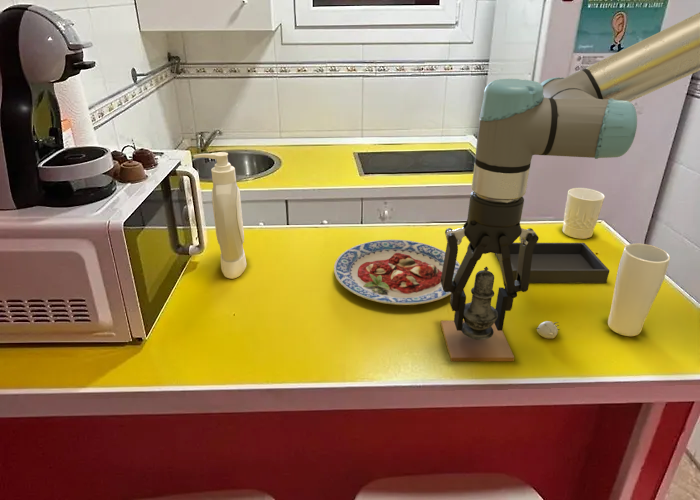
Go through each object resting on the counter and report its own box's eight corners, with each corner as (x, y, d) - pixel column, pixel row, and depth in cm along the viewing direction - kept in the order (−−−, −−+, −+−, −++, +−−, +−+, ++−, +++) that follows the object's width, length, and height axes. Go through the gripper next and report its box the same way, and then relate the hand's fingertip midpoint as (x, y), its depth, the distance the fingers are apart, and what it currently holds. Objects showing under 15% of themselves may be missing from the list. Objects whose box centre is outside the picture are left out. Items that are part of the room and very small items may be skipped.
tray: (581, 254, 114) (584, 242, 113) (606, 283, 104) (609, 270, 102) (494, 254, 114) (496, 242, 113) (510, 283, 103) (513, 270, 102)
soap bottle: (212, 253, 113) (197, 144, 102) (248, 252, 114) (237, 143, 103) (205, 284, 102) (188, 165, 91) (245, 282, 103) (233, 163, 91)
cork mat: (497, 324, 91) (497, 320, 91) (513, 361, 82) (514, 357, 82) (440, 324, 91) (440, 320, 90) (450, 361, 82) (451, 357, 82)
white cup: (555, 225, 128) (563, 187, 123) (587, 226, 128) (597, 188, 123) (565, 239, 121) (574, 199, 116) (600, 240, 121) (610, 200, 116)
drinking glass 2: (608, 338, 88) (632, 260, 81) (597, 315, 93) (618, 241, 87) (651, 342, 87) (678, 264, 80) (637, 319, 93) (661, 244, 86)
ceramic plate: (405, 238, 121) (406, 226, 119) (490, 286, 102) (492, 273, 101) (310, 268, 108) (309, 255, 106) (386, 330, 89) (387, 316, 88)
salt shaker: (499, 341, 83) (510, 276, 77) (462, 340, 83) (471, 276, 77) (490, 319, 88) (500, 257, 82) (455, 319, 88) (463, 257, 82)
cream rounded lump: (562, 338, 87) (565, 325, 86) (539, 340, 87) (542, 327, 86) (552, 327, 90) (555, 315, 89) (531, 329, 90) (533, 316, 89)
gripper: (553, 184, 78) (527, 312, 88) (427, 183, 77) (417, 312, 88) (573, 203, 71) (542, 339, 82) (435, 203, 71) (423, 339, 81)
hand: (477, 325), depth 85 cm, fingers closed on salt shaker, 6 cm apart
